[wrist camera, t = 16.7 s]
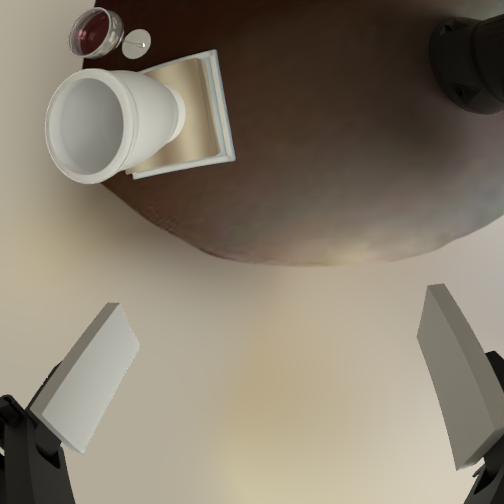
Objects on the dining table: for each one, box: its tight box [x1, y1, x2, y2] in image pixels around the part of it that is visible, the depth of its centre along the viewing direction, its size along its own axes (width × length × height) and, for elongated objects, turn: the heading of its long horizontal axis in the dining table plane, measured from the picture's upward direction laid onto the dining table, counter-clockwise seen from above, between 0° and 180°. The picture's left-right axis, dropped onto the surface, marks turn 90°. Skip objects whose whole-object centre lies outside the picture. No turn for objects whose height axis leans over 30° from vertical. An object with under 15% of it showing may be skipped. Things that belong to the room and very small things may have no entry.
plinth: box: [125, 58, 222, 175], centre depth 35 cm, size 13×13×4 cm
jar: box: [45, 69, 186, 184], centre depth 27 cm, size 11×10×15 cm
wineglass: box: [68, 7, 151, 59], centre depth 28 cm, size 7×7×12 cm
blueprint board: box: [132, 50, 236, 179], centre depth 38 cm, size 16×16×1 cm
